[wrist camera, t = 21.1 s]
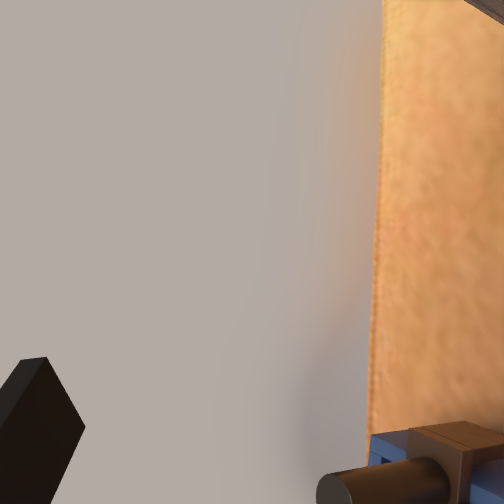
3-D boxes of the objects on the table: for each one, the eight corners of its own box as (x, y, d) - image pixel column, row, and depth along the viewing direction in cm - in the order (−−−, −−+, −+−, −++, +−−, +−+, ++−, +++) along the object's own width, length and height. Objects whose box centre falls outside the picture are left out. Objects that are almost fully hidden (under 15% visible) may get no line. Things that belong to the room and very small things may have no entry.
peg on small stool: (464, 420, 35) (314, 440, 27) (519, 440, 31) (365, 469, 24) (457, 494, 34) (304, 535, 27) (512, 523, 31) (354, 579, 23)
